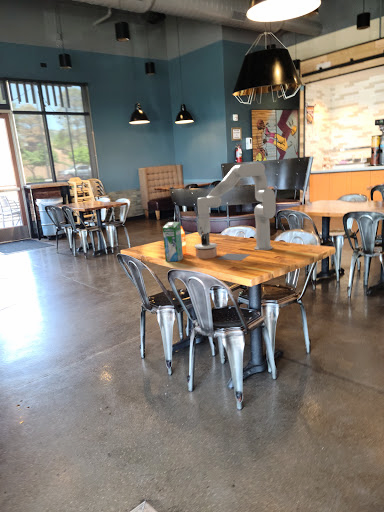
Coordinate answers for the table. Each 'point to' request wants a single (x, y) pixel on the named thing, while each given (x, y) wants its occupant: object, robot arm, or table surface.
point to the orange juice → (183, 240)
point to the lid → (207, 245)
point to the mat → (234, 256)
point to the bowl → (206, 253)
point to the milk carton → (173, 241)
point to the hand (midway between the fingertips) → (205, 243)
